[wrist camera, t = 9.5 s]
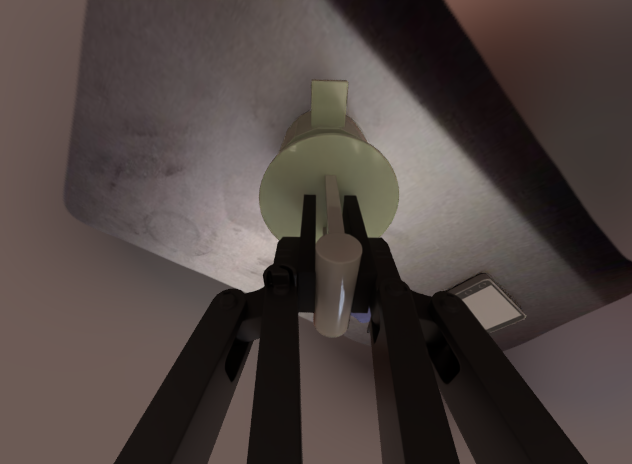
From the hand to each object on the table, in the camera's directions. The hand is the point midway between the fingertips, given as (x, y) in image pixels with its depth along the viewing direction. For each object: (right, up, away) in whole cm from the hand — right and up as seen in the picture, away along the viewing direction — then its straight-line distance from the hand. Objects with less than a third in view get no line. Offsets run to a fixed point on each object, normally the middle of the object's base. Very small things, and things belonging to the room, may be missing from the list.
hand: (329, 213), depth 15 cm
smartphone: (+27, -13, +25) cm, 39 cm away
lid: (0, +1, +1) cm, 1 cm away
